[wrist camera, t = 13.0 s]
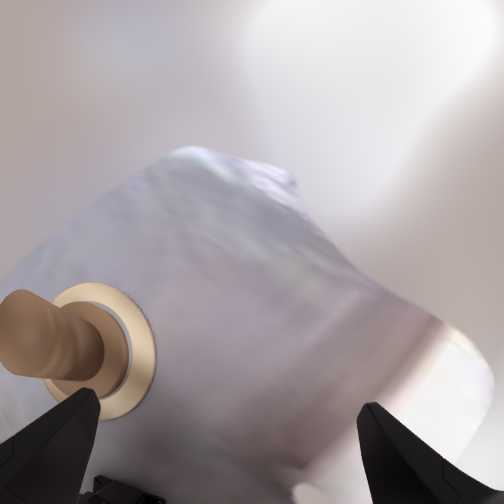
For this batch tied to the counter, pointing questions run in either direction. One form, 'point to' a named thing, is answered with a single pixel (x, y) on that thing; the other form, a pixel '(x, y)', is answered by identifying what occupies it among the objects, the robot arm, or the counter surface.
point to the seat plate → (138, 345)
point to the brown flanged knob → (62, 343)
